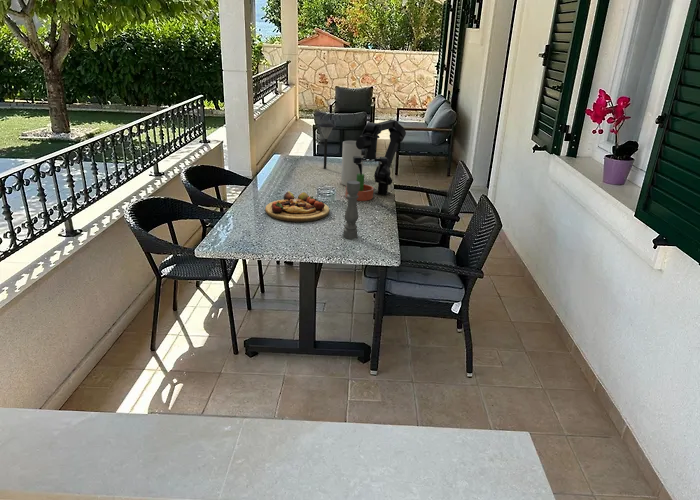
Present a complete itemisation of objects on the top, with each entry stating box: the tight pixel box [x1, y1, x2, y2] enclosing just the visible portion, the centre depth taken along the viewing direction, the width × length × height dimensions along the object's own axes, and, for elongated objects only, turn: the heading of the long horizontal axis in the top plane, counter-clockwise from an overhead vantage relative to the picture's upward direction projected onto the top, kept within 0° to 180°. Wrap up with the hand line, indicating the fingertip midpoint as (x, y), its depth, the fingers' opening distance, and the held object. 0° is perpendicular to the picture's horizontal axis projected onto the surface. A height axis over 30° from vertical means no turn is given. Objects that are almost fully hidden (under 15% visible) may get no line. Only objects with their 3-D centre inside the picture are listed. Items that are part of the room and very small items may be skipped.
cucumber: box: [356, 173, 365, 191], centre depth 280 cm, size 4×4×13 cm
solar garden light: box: [316, 121, 336, 170], centre depth 332 cm, size 12×12×30 cm
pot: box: [344, 183, 375, 202], centre depth 282 cm, size 16×16×6 cm
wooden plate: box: [264, 190, 330, 222], centre depth 252 cm, size 32×32×8 cm
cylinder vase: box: [340, 140, 364, 187], centre depth 302 cm, size 12×12×25 cm
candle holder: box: [342, 181, 360, 240], centre depth 222 cm, size 6×6×25 cm
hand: (369, 175), depth 276 cm, fingers open, 9 cm apart
